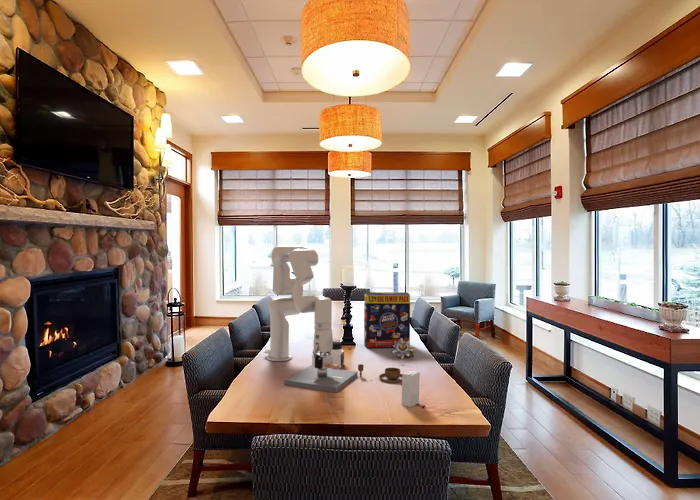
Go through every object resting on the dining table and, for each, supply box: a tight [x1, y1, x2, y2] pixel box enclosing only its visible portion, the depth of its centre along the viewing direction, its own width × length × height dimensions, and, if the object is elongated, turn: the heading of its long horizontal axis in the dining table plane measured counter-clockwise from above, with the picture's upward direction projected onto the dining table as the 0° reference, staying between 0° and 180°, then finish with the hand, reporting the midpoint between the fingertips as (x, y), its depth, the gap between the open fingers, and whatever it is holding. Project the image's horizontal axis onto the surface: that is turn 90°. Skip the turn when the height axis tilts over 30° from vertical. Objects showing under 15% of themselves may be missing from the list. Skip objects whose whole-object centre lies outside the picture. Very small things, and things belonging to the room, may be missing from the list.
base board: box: [283, 365, 359, 393], centre depth 194 cm, size 24×24×2 cm
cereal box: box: [363, 291, 411, 349], centre depth 260 cm, size 27×11×32 cm, turn 97°
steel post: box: [317, 368, 327, 377], centre depth 194 cm, size 4×4×4 cm
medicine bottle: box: [330, 340, 345, 369], centre depth 217 cm, size 7×7×12 cm
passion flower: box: [391, 338, 415, 360], centre depth 236 cm, size 11×11×12 cm
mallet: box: [311, 353, 340, 370], centre depth 192 cm, size 6×11×5 cm, turn 56°
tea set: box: [357, 363, 403, 384], centre depth 199 cm, size 18×20×6 cm
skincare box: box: [401, 370, 421, 408], centre depth 166 cm, size 6×4×12 cm
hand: (322, 365), depth 194 cm, fingers closed on mallet, 7 cm apart
